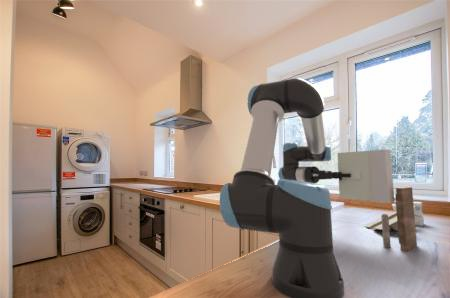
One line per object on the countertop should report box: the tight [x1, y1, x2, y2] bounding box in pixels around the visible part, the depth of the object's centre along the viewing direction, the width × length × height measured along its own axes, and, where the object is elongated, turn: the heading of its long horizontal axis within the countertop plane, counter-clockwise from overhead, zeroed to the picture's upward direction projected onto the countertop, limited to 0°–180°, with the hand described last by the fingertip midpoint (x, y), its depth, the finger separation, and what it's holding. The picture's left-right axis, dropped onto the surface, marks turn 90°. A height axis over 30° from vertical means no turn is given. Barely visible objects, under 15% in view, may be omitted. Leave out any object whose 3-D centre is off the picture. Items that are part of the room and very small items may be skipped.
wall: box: [364, 210, 398, 232], centre depth 95 cm, size 16×9×15 cm
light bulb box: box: [393, 200, 425, 227], centre depth 110 cm, size 11×7×11 cm, turn 46°
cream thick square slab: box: [337, 149, 395, 204], centre depth 82 cm, size 17×5×18 cm, turn 35°
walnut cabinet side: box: [380, 186, 418, 252], centre depth 77 cm, size 6×11×20 cm, turn 125°
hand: (363, 175), depth 82 cm, fingers closed on cream thick square slab, 3 cm apart
